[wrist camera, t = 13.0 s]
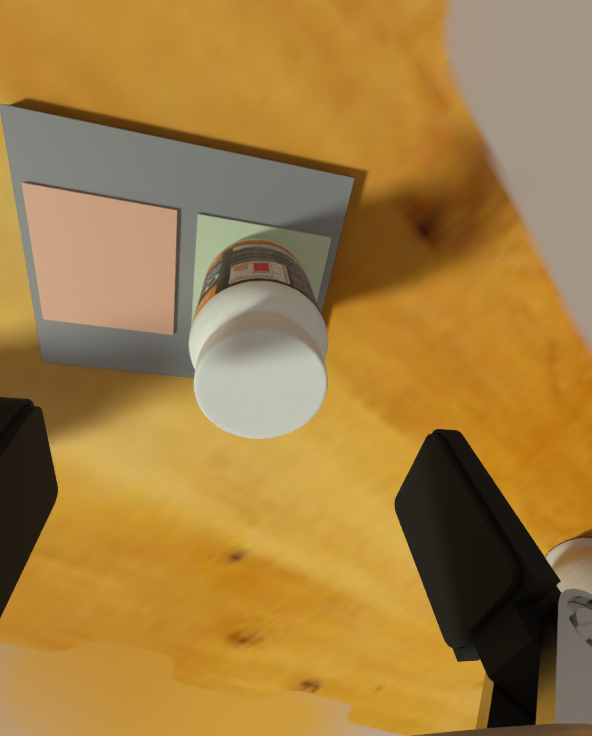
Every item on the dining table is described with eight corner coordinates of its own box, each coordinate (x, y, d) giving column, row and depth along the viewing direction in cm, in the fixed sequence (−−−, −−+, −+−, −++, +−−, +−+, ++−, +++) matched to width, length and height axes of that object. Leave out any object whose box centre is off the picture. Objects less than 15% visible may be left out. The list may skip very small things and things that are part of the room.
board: (8, 104, 17) (-4, 103, 16) (351, 176, 20) (355, 178, 19) (48, 355, 24) (40, 363, 23) (301, 382, 27) (303, 390, 26)
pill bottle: (196, 239, 20) (157, 320, 12) (306, 232, 20) (344, 305, 12) (213, 337, 23) (192, 457, 15) (309, 329, 23) (341, 442, 15)
